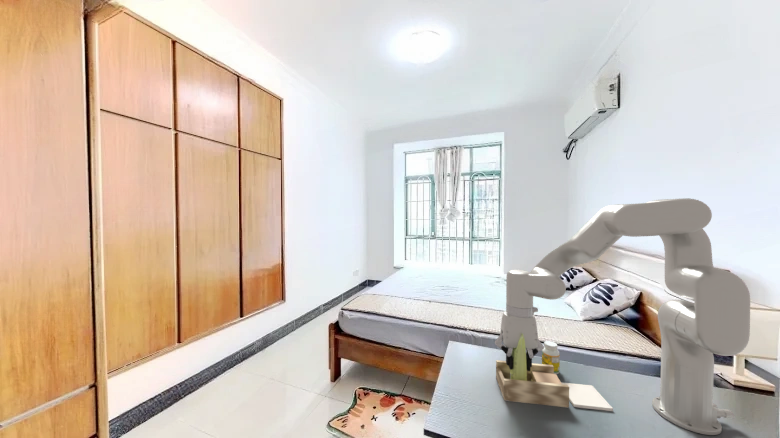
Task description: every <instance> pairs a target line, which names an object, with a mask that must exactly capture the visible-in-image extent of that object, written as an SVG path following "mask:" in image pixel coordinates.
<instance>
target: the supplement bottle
mask: <svg viewBox="0 0 780 438" xmlns="http://www.w3.org/2000/svg"><path fill="white" fill-rule="evenodd" d="M543 346H544V349H543V350H541V364H546V365H553V367H554V374H556V375H559V374H560V372H561V371H560V368H561V367H560V366H561V365H560V364H561V363H560V361H561V360H560V358H561V357H560V351H559V350H558V344H557V343H556V342H554V341H550V340H545V341H543Z"/></svg>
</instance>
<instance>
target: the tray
mask: <svg viewBox="0 0 780 438" xmlns="http://www.w3.org/2000/svg"><path fill="white" fill-rule="evenodd" d="M532 371H535V372H543V373H550V374H554V367H553V365H546V364H542V363H533V362H532V367H530V371H527V381H523V380H513V379H510V368H509V366H508V365H507V364H506V360H497V359H496V360H495V378H496V382H497V384H498V387H499V390H500V392H501V396H502V397H503V400H504V401H506V402H515V403H525V404H532V405H533V404H534V405H542V406H549V407H550V406H551V407H559V408H560V407H561V408H570V401H569V386H568V385H564V384H554V383H544V382H534V381H531V379H532Z"/></svg>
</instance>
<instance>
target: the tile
mask: <svg viewBox="0 0 780 438" xmlns="http://www.w3.org/2000/svg"><path fill="white" fill-rule="evenodd" d="M560 382H561V381H560ZM561 383H562V384H564V385H568V386H569V403H570V404H571V405H572V406H573V408H580V409H590V410H599V411H607V412H614V407H612V405H610V404H609V402H608V401H607V400H606V399H605V398H604V397H603V396H602V395H601V393H600V392H599V391H598V390H597V389H596V388H595V386H594V385H591V384H581V383H569V382H561Z"/></svg>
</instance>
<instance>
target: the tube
mask: <svg viewBox="0 0 780 438" xmlns="http://www.w3.org/2000/svg"><path fill="white" fill-rule="evenodd" d="M512 357H513V369H512V370H511V369H510V379H513V380H523V381H527V364H526V348H525V339H524V335H523V333H522V336H521V337H520V339H519V342H518V346H517V348H513V350H512Z"/></svg>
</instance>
